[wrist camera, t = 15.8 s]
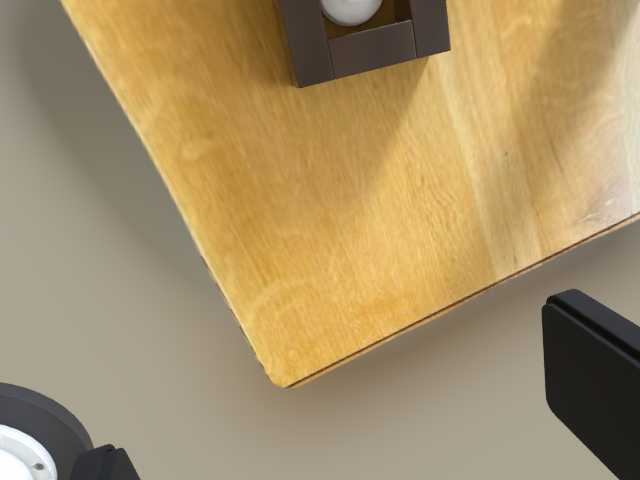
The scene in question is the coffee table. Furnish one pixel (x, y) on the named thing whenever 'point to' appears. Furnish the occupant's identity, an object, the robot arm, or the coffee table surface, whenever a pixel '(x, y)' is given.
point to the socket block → (357, 40)
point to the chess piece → (349, 10)
